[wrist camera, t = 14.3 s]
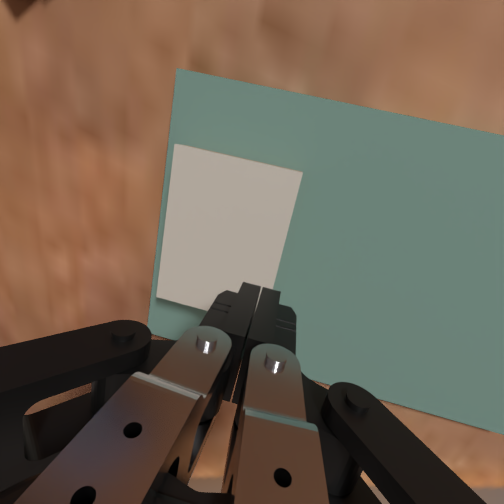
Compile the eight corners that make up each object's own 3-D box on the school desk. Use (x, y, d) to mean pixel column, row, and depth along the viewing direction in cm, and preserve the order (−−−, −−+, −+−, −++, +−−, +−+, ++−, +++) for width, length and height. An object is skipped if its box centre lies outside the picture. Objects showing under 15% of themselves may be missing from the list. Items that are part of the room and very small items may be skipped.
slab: (303, 173, 13) (174, 143, 14) (263, 326, 16) (156, 296, 16) (302, 171, 15) (187, 145, 15) (266, 311, 17) (168, 285, 18)
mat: (661, 171, 13) (678, 171, 12) (498, 426, 18) (504, 435, 17) (181, 71, 15) (176, 68, 14) (151, 327, 19) (146, 332, 19)
